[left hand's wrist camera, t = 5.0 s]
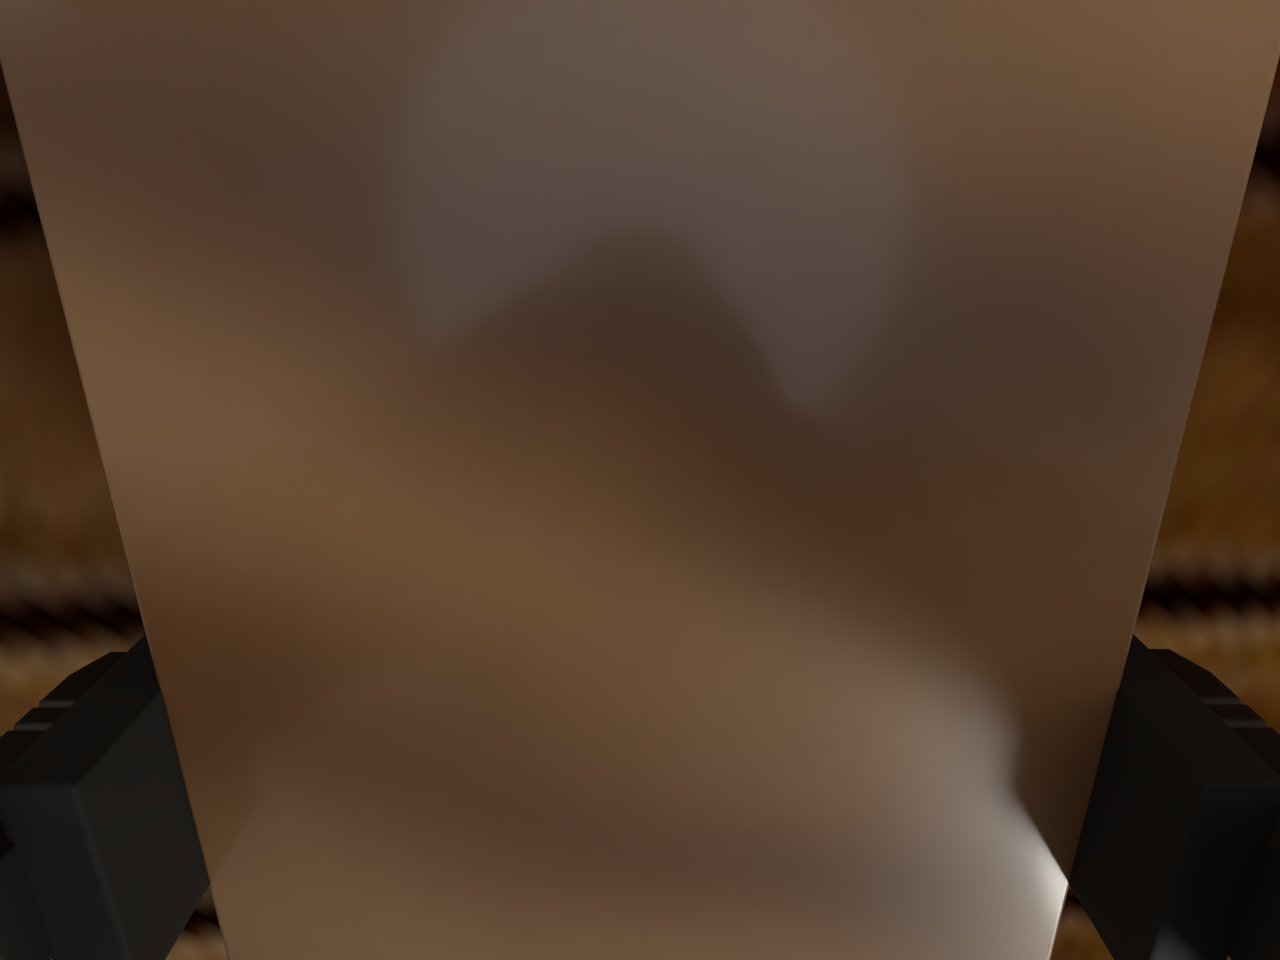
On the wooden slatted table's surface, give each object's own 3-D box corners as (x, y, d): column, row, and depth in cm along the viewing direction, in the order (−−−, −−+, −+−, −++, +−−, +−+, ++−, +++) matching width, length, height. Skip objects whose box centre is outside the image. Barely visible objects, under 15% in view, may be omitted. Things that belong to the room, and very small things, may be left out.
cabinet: (265, -536, 11) (-540, -2034, 3) (1014, -536, 11) (1819, -2034, 3) (407, 647, 18) (236, 1005, 10) (871, 647, 18) (1041, 1005, 10)
